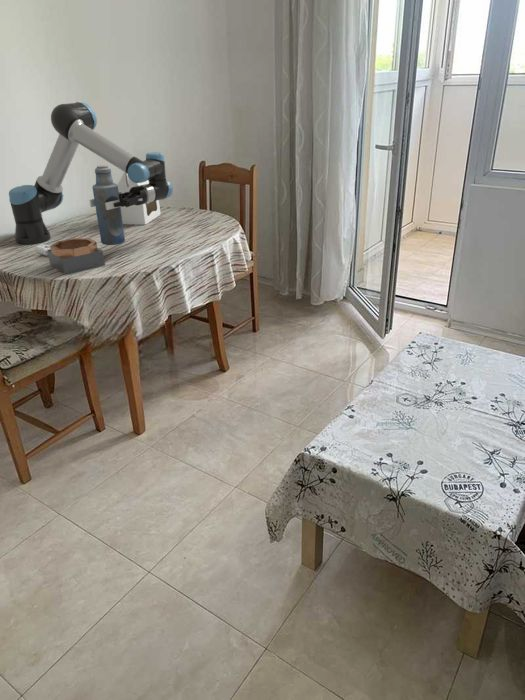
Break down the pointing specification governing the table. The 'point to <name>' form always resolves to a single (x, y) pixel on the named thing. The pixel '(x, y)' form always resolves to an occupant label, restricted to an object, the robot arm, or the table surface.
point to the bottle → (107, 219)
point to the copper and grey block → (75, 255)
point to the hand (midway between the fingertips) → (98, 204)
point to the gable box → (137, 212)
